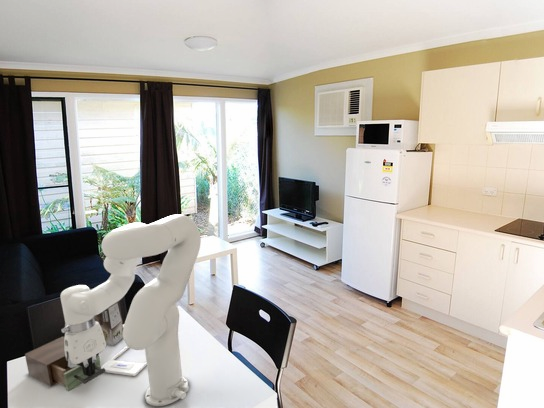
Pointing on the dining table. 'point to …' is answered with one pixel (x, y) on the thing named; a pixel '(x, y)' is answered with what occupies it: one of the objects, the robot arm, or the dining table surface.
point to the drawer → (73, 374)
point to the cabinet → (45, 360)
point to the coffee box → (111, 323)
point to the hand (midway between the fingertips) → (90, 374)
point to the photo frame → (123, 365)
